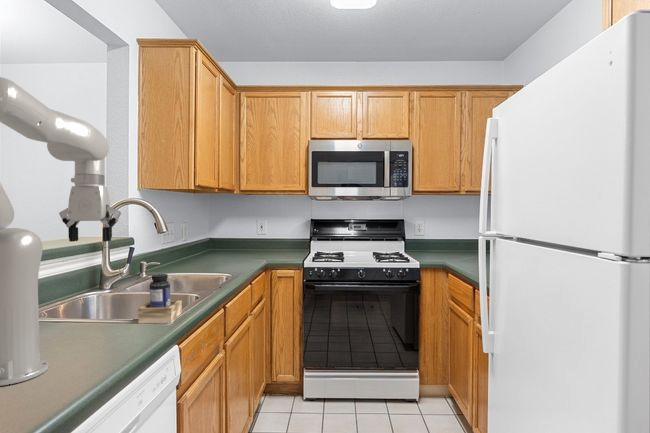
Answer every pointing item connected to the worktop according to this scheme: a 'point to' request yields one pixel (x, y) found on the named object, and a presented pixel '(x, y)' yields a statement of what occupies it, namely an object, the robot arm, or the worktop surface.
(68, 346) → the worktop surface
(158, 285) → the pill bottle
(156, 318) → the wooden tray
